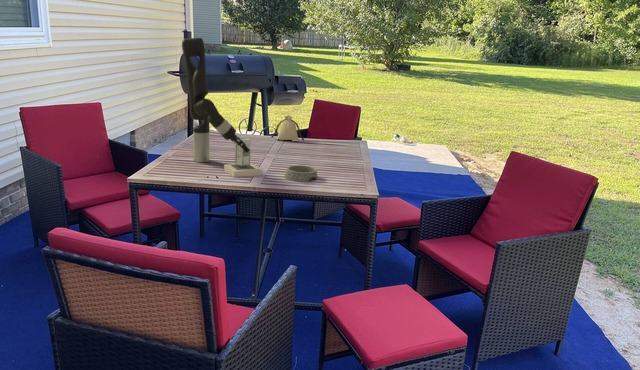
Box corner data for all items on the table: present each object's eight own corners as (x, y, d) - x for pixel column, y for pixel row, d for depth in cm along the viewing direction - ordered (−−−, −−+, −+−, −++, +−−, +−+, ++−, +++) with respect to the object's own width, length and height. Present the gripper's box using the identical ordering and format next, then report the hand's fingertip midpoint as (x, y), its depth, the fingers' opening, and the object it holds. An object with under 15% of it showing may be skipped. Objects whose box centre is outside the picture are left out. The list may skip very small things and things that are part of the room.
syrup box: (243, 163, 272) (243, 137, 268) (250, 165, 269) (250, 139, 265) (235, 164, 268) (235, 138, 264) (242, 166, 264) (243, 140, 261)
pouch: (304, 141, 369) (305, 115, 364) (304, 143, 361) (305, 117, 356) (271, 139, 368) (271, 113, 363) (270, 141, 360) (271, 115, 355)
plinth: (224, 169, 273) (224, 164, 272) (251, 167, 280) (251, 162, 279) (233, 177, 259) (233, 171, 258) (261, 174, 267) (262, 169, 266)
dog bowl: (324, 179, 268) (324, 169, 266) (300, 184, 254) (301, 174, 253) (301, 172, 279) (302, 163, 277) (278, 177, 265) (278, 167, 264)
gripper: (234, 126, 253) (255, 147, 261) (225, 121, 265) (245, 142, 273) (224, 136, 252) (245, 157, 260) (216, 131, 264) (236, 152, 272)
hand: (245, 149), depth 267 cm, fingers closed on syrup box, 7 cm apart
